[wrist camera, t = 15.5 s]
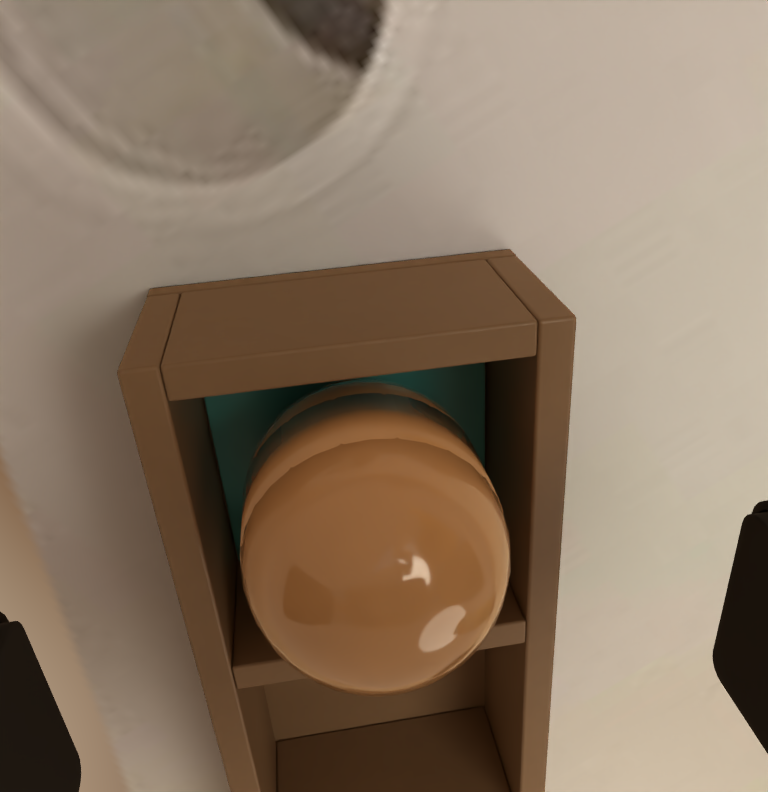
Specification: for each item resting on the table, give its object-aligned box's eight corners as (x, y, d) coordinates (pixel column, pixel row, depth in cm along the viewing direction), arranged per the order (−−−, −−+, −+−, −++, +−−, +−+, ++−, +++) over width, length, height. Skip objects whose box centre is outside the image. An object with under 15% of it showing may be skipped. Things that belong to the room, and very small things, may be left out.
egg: (203, 401, 14) (170, 622, 9) (405, 302, 13) (486, 476, 8) (307, 550, 16) (327, 797, 11) (485, 468, 15) (588, 685, 10)
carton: (285, 873, 22) (289, 1007, 19) (148, 288, 13) (115, 371, 10) (499, 833, 23) (534, 957, 20) (510, 248, 14) (577, 316, 11)
